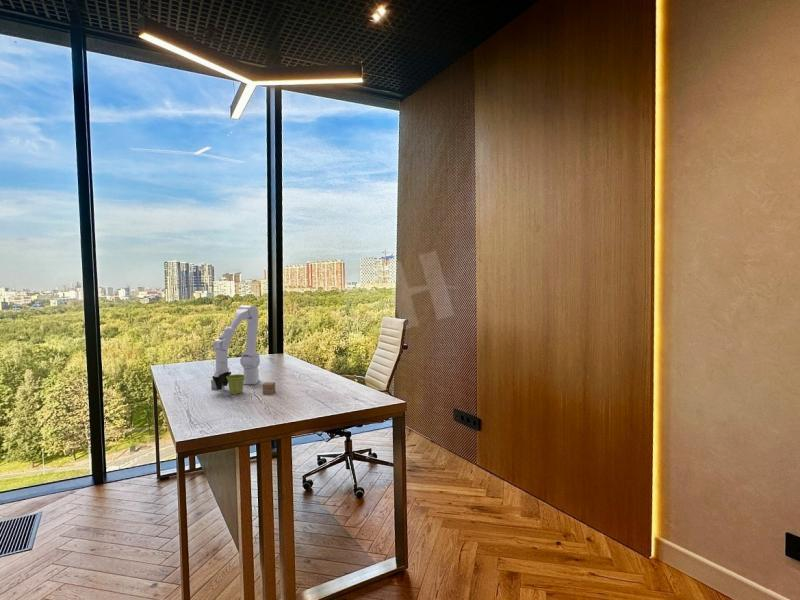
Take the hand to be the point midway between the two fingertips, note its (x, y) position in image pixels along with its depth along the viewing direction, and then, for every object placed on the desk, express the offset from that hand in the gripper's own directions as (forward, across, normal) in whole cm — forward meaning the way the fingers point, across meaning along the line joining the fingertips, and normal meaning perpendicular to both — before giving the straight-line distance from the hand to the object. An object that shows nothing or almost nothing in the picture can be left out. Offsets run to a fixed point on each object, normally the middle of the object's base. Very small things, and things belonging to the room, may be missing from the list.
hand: (222, 387), depth 239 cm
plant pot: (+2, +4, +9) cm, 10 cm away
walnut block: (+2, +4, +26) cm, 26 cm away
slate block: (+2, -8, -5) cm, 9 cm away
